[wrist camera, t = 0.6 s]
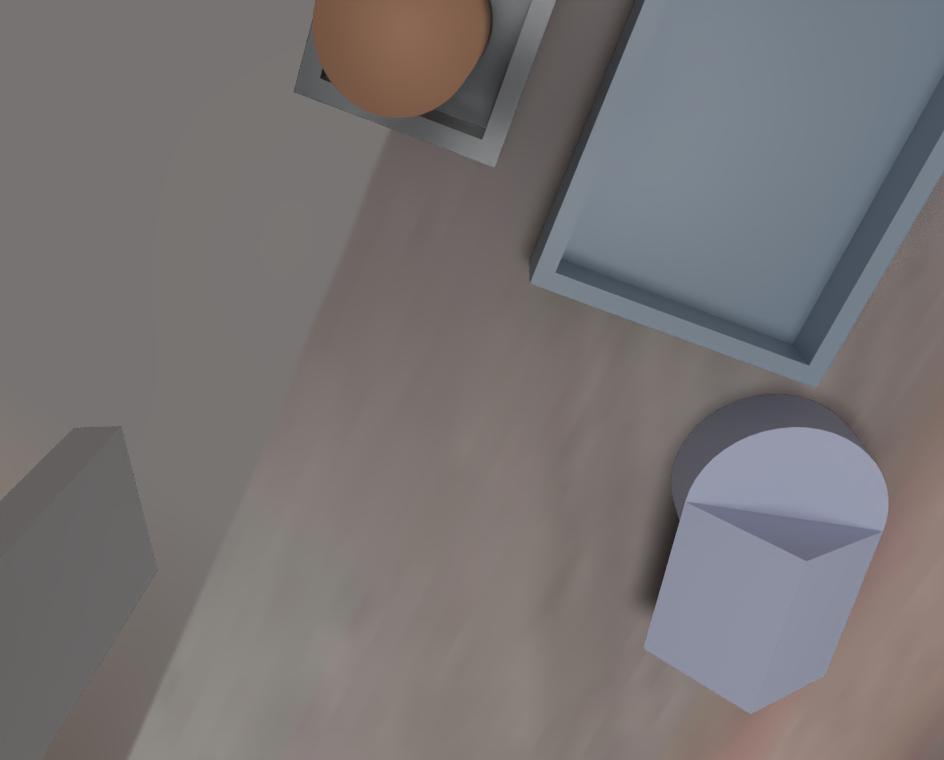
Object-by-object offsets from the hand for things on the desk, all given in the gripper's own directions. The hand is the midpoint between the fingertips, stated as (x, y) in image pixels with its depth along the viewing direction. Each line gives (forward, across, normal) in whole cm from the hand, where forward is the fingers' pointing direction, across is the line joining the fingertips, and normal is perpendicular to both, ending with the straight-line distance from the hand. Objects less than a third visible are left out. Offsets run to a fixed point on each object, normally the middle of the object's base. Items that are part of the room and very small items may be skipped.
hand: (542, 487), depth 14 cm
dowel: (+25, -3, +6) cm, 26 cm away
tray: (+25, +10, +2) cm, 27 cm away
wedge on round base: (+26, +11, -17) cm, 33 cm away
